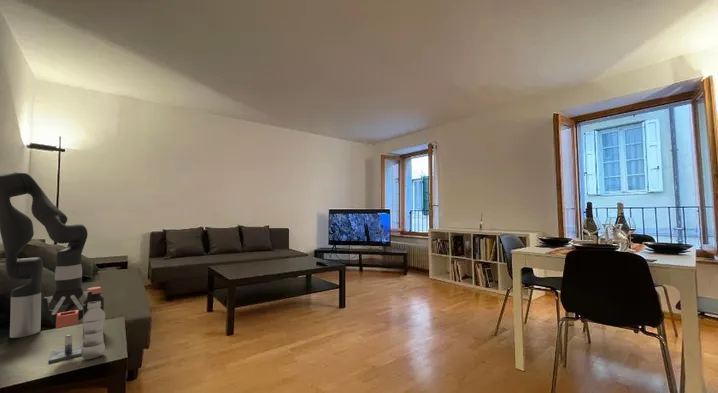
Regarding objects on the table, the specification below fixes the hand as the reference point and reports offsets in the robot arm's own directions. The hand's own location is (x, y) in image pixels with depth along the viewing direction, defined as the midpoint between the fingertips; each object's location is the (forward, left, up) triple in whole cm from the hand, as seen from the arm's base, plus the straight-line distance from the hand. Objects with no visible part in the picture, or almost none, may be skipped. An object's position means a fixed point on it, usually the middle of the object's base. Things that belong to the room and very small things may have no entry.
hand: (67, 321), depth 117 cm
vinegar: (-18, +8, -12) cm, 23 cm away
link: (0, 0, -1) cm, 1 cm away
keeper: (0, 0, -12) cm, 12 cm away
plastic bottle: (+10, +7, -12) cm, 17 cm away
